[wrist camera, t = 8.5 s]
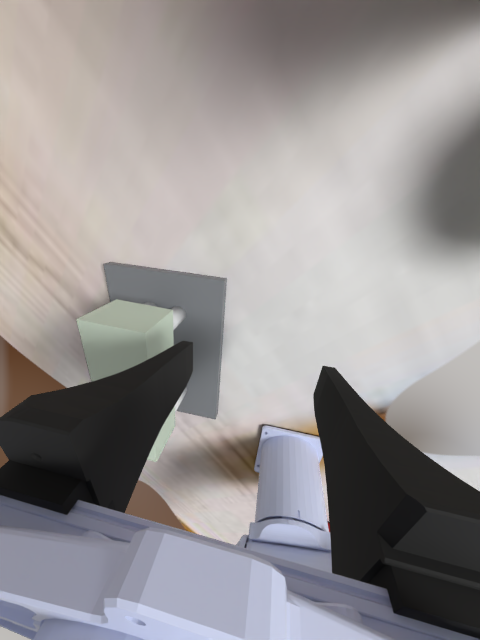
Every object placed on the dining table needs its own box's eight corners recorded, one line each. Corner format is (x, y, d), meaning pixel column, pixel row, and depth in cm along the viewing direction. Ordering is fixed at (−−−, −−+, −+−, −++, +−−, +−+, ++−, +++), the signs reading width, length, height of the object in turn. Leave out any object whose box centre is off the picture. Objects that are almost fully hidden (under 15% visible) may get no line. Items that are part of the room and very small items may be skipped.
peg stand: (217, 413, 28) (206, 445, 24) (132, 394, 30) (109, 422, 26) (226, 278, 20) (213, 293, 16) (110, 261, 22) (72, 271, 18)
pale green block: (116, 299, 18) (76, 319, 15) (172, 309, 18) (145, 333, 14) (133, 415, 24) (107, 449, 21) (175, 425, 24) (156, 462, 20)
